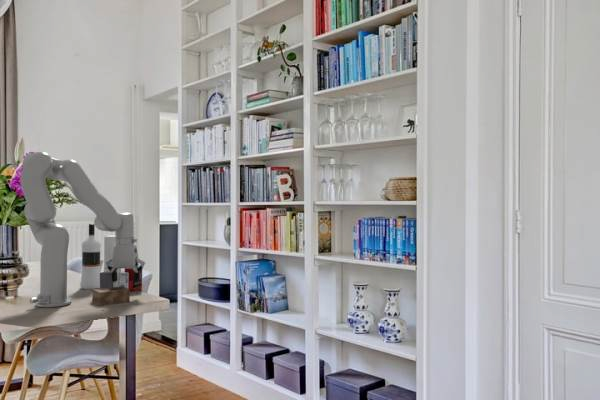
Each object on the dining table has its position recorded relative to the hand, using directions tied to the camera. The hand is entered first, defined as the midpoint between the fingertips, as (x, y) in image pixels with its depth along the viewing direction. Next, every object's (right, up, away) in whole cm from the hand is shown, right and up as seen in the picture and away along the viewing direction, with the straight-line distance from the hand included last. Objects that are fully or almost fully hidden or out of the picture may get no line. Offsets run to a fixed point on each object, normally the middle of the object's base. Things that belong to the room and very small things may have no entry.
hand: (125, 281), depth 227 cm
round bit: (-1, -6, -1) cm, 7 cm away
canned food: (-2, -7, +16) cm, 17 cm away
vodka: (-23, -6, +20) cm, 31 cm away
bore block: (-2, -6, -12) cm, 14 cm away
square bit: (-9, -6, +1) cm, 11 cm away
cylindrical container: (-10, -7, +12) cm, 17 cm away
